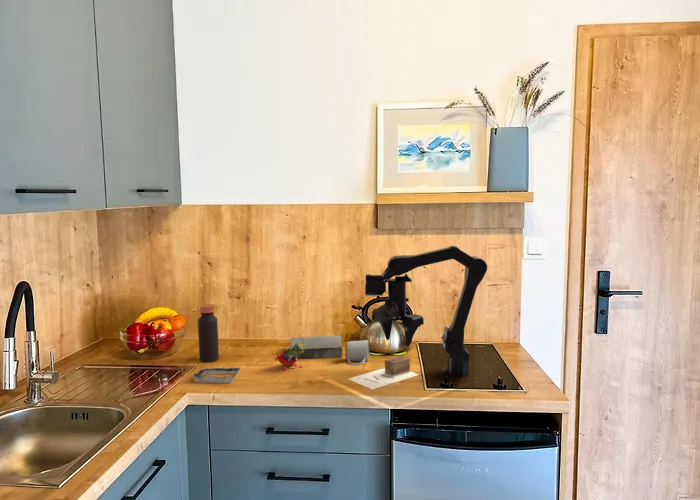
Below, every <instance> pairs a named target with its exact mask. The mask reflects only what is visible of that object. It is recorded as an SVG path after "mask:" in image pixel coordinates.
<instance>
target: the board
mask: <svg viewBox="0 0 700 500" xmlns="http://www.w3.org/2000/svg"><path fill="white" fill-rule="evenodd" d="M419 375H420V374H419V373H415V372H413V371H410V372H408V373H405V374H402V375H398V376H395V377H393V376H391V375H388V374H385V367H384V368H382V369H381V368H379V369H378V370H374V371H370V372H366V373H364V374H359V375H357V376H353V377H349V378H348V380H349V381H351V382H353V383H355V384H359V385H360V386H363V387H365V388H368V389H370V390H375V389H379V388H381V387H385V386H387V385H392V384H395V383H397V382H400V381H405V380H408V379H410V378H413V377H417V376H419Z"/></svg>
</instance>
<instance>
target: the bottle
mask: <svg viewBox="0 0 700 500" xmlns="http://www.w3.org/2000/svg"><path fill="white" fill-rule="evenodd" d="M199 312H200V317H199V318H198V319H197V328H198V330H197V332H198V333H197V334H198V350H199V351H198V353H199V361H200V362H201V363H212V362H216V361H218V360H219V359H220V355H219V354H220V352H219V350H220V349H219V328H218V327H219V326H218V318H217V317H216V316H215V315H214V314H215V305H214V304H202V305H199Z"/></svg>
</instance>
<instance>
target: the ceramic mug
mask: <svg viewBox="0 0 700 500" xmlns="http://www.w3.org/2000/svg"><path fill="white" fill-rule="evenodd" d="M369 344H370V343H369V340H367V339H366V340H365V339H364V340H351V341H347V342H346V343H345V348H344V349H345V350H344V352H345V355H344V356H345V360H346V361H347V362H348V364H349V365H352V366H360V365H361V366H362V365H363V364H365V362H369V358H370V345H369ZM352 362H358V363H352Z"/></svg>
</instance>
